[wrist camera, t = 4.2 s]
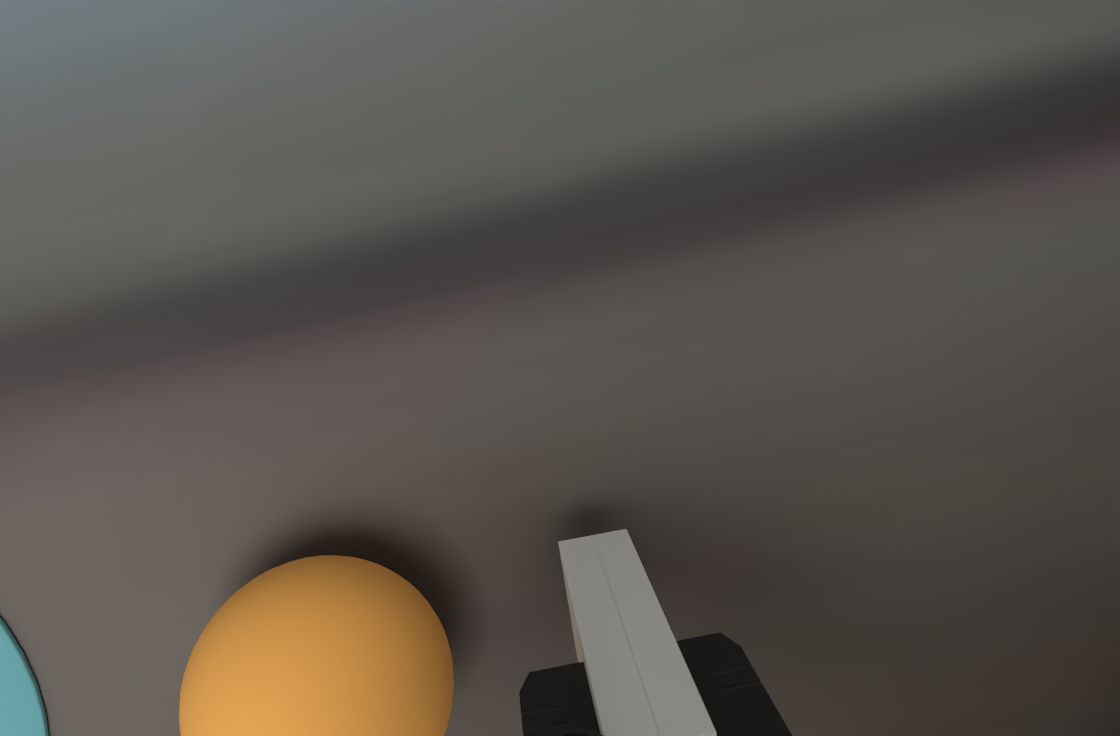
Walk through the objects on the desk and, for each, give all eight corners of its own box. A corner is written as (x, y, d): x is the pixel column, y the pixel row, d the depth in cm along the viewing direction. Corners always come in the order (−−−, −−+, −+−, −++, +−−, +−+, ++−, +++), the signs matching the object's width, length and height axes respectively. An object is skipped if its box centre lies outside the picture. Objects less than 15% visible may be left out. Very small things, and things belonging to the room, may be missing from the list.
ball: (434, 495, 19) (410, 612, 14) (479, 696, 20) (473, 875, 15) (203, 540, 19) (88, 677, 14) (263, 740, 20) (179, 938, 15)
